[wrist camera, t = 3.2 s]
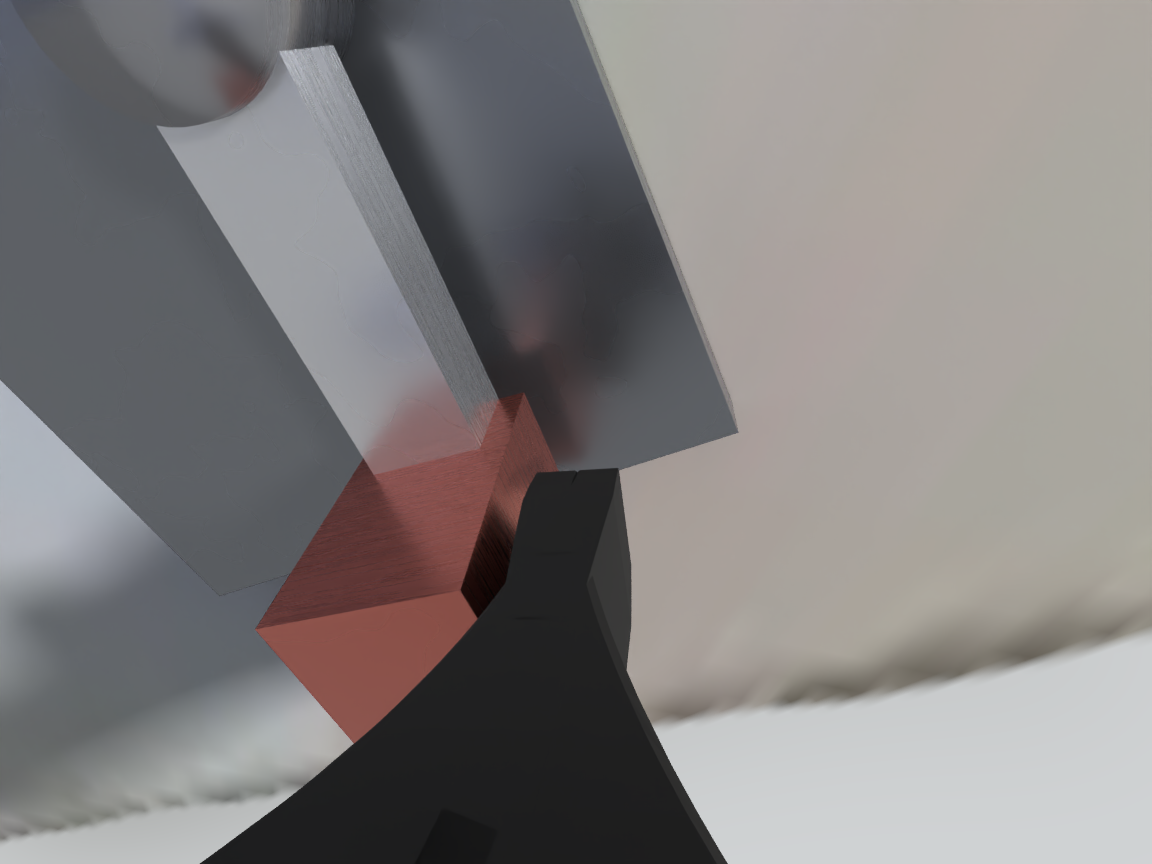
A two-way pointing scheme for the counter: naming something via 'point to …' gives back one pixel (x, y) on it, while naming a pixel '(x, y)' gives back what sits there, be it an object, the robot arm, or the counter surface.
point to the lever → (331, 323)
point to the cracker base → (253, 334)
